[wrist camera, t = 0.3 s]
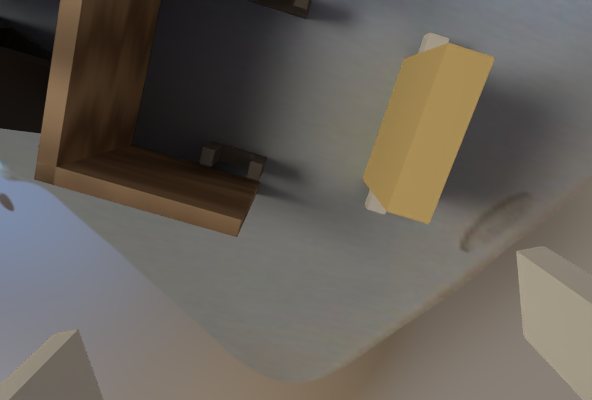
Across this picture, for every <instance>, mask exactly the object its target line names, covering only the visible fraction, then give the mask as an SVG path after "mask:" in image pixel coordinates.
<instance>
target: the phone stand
mask: <svg viewBox="0 0 592 400" xmlns="http://www.w3.org/2000/svg"><path fill="white" fill-rule="evenodd" d="M51 61H52V53H50V52H49V51H47V50H46V49H43V48H42V47H41V46H40V45H38V44H36V43H35V42H33V41H32V40H30V39H29V38H27V37H26V36H24V35H23V34H21V33H20V32H18V31H17V30H15V29H14V28H12V27H11V26H9V25H8V24H6V23H5V22H3V21H2V20H0V128H2V129H10V130H18V131H26V132H34V133H41V130H42V123H43V116H44V109H45V102H46V96H47V89H48V82H49V75H50V68H51Z"/></svg>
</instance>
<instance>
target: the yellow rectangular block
mask: <svg viewBox="0 0 592 400" xmlns="http://www.w3.org/2000/svg"><path fill="white" fill-rule="evenodd" d="M448 41H449V38H446V37H443V36H440V35H437V34H434V33H428V34H426V35H424V37H423V40H422V43H421V46H420V49H419V52H418V54H416V55H413V56H410V57H407V58H405V59H404V61H403V64H402V66H401V69H400V72H399V75H398V78H397V81H396V84H395V87H394V90H393V93H392V95H391V98H390V101H389V104H388V107H387V110H386V113H385V116H384V119H383V121H382V124H381V127H380V130H379V133H378V136H377V139H376V142H375V145H374V147H373V150H372V153H371V156H370V159H369V162H368V165H367V168H366V171H365V174H364V176H363V181H364V182H365V183H366V185H367V186H368V187H369V189H370V191H369V194H368V196H367V199H366V202H365V206H366V208H367V210H371V211H374V212H378V213H381V214H384V215H385V213H386V211H387V212H390V213H393V214H396V215H400V216H403V217H407V218H410V219H413V220H417V221H420V222H424V223H427V224H429V223H430V221H431V218H432V216H433V213H434V211H435V208H436V205H437V203H438V200H439V198H440V195H441V193H442V190H443V188H444V185H445V183H446V180H447V178H448V175H449V173H450V170H451V168H452V165H453V163H454V160H455V158H456V155H457V153H458V150H459V148H460V145H461V143H462V140H463V137H464V135H465V132H466V130H467V127H468V125H469V122H470V120H471V117H472V115H473V112H474V110H475V107H476V105H477V102H478V100H479V97H480V95H481V92H482V90H483V87H484V85H485V82H486V80H487V77H488V75H489V72H490V69H491V67H492V64H493V62H494V59H495V57H491V56H488V55H485V54H482V53H479V52H476V51H473V50H470V49H467V48H464V47H461V46H458V45H454V44H451V43H448Z"/></svg>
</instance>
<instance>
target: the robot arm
mask: <svg viewBox="0 0 592 400" xmlns="http://www.w3.org/2000/svg"><path fill="white" fill-rule="evenodd" d="M516 253H517V265H518V277H519V288H520V301H521V312H522V324H523V336H524V337H525V338H526V340H527V341H528V342H529V343H530V344H531V345H532V346H533V347H534V348H535V349H536V350H537V351H538V352H539V353H540V355H541V356H542V357H543V358H544V359H545V360H546V361H547V362H548V363H549V364H550V365H551V366H552V367H553V368H554V370H555V371H557V373H558V374H559V375H560V376H561V377H562V378H563V379H564V380H565V381H566V382H567V383H568V384H569V385H570V387H571V388H572V389H573V390H574V391H575V392H576V393H577V394H578V395H579V396H580V397H581V398H582V399H583V400H592V275H591V274H589V273H588V272H586V271H584V270H583V269H581V268H579V267H578V266H576V265H574V264H573V263H571V262H569V261H568V260H566V259H564V258H563V257H561V256H559V255H558V254H556V253H555V252H553V251H551V250H550V249H548V248H546V247H544V246H541V247H536V248H530V249H524V250H519V251H516ZM0 400H103V397H102V394H101V391H100V389H99V386H98V383H97V380H96V377H95V375H94V372H93V369H92V367H91V364H90V361H89V358H88V355H87V352H86V350H85V347H84V344H83V341H82V338H81V336H80V333H79V330H78V329H77V330H71V331H66V332H60V333H55V334H53V335H52V336H51V337H50V338H49V339H48V340H47V341H46V342H45V343H44V344H43V345H42V346H40V347H39V348H38V349H37V350H36V351H35V352H34V353H33V354H32V355H31V356H30V357H29V358H28V359H27V360H26V361H24V363H22V364H21V365H20V366H19V367H18V368H17V369H16V370H15V371H14V372H13V373H12V374H11V375H10V376H8V377H7V378H6V379H5V380H4V381H3V382H2V383H1V384H0Z"/></svg>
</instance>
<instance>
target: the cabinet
mask: <svg viewBox="0 0 592 400" xmlns="http://www.w3.org/2000/svg"><path fill="white" fill-rule="evenodd" d="M248 1H251V2H254V3H257V4H260V5H264V6H267V7H270V8H273V9H276V10H279V11H282V12H285V13H289V14H292V15H295V16H298V17H301V18H304V19H306V17H307V13H308V10H309V6H310V3H311V0H248ZM160 3H161V0H60V6H59V13H58V20H57V27H56V34H55V41H54V47H53V54H52V61H51V68H50V75H49V82H48V89H47V96H46V102H45V109H44V116H43V123H42V130H41V137H40V144H39V151H38V157H37V164H36V171H35V178H34V179H35V180H38V181H42V182H45V183H49V184H52V185H56V186H59V187H63V188H66V189H70V190H73V191H77V192H80V193H84V194H87V195H91V196H95V197H98V198H102V199H105V200H109V201H112V202H116V203H119V204H123V205H126V206H130V207H133V208H137V209H140V210H144V211H147V212H151V213H154V214H158V215H161V216H165V217H168V218H172V219H175V220H179V221H182V222H186V223H189V224H193V225H196V226H200V227H203V228H207V229H210V230H214V231H217V232H221V233H224V234H228V235H231V236H235V237H237V236H238V234H239V231H240V229H241V227H242V225H243V222H244V220H245V218H246V216H247V214H248V211H249V209H250V207H251V205H252V203H253V200H254V198H255V196H256V193H257V190H258V186H259V183H260V182H257V181H254V180H259V178H260V176H261V174H262V172H263V169H264V165H265V161H266V158H267V157H263V156H260V155H257V154H253V153H250V152H247V151H243V150H240V149H237V148H233V147H230V146H226V145H223V144H220V143H216V142H212V143H210V144H208V145H206V146H204V147H203V150H202V154H201V158H200V162H199V163H200V164H203V165H207V166H210V167H211V166H213V165H214V164H215V163H217V162H218V161H222V162H225V163H228V164H232V165H235V166H239V167H242V168H245V169H249V170H248V173H247V178H251V179H254V180H250V179H247V178H244V177H240V176H237V175H233V174H230V173H227V172H223V171H220V170H216V169H213V168H210V167H206V166H203V165H199V164H196V163H193V162H189V161H186V160H182V159H179V158H176V157H172V156H169V155H165V154H162V153H159V152H155V151H152V150H148V149H145V148H142V147H138V146H135V145H132V142H133V137H134V132H135V127H136V123H137V118H138V113H139V108H140V103H141V98H142V93H143V88H144V83H145V78H146V73H147V68H148V63H149V58H150V53H151V48H152V43H153V38H154V33H155V28H156V23H157V18H158V13H159V8H160Z"/></svg>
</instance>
